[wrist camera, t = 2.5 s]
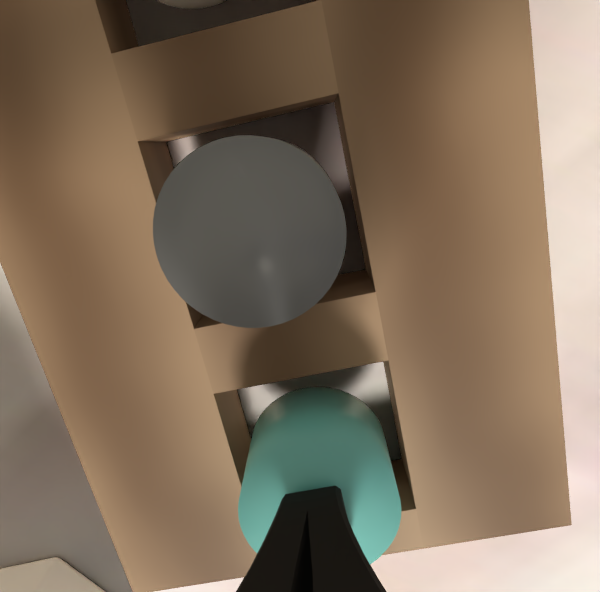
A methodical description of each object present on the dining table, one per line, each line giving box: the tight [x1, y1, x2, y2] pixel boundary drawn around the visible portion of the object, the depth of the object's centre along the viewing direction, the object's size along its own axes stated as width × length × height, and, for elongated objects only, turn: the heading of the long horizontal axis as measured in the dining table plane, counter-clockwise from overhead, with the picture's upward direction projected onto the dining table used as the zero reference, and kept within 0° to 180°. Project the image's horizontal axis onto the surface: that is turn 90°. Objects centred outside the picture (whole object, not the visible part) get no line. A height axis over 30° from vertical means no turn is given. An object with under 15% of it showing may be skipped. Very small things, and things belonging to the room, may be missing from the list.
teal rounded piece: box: [238, 387, 401, 564], centre depth 14 cm, size 4×4×3 cm
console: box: [0, 0, 571, 592], centre depth 14 cm, size 14×22×2 cm, turn 12°
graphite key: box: [153, 135, 346, 328], centre depth 12 cm, size 4×4×3 cm
